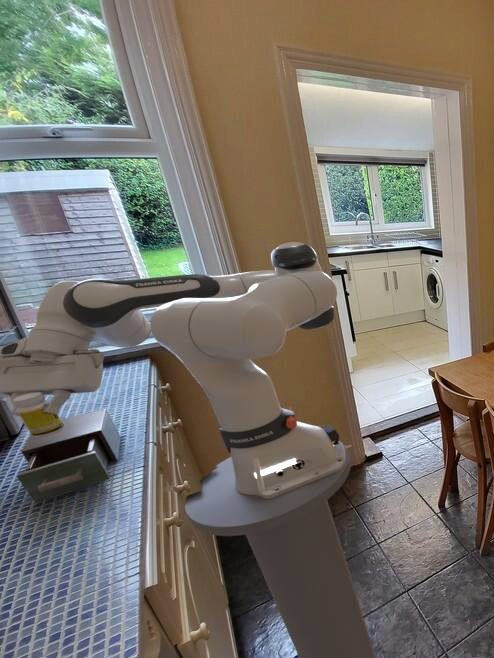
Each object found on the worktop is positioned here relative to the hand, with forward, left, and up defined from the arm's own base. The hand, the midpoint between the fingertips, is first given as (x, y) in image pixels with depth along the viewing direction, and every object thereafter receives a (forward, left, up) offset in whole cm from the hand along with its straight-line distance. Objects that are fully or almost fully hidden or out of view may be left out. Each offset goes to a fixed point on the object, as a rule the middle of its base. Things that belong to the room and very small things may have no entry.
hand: (34, 414), depth 82 cm
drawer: (0, 0, -16) cm, 16 cm away
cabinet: (+2, -12, -17) cm, 21 cm away
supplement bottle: (0, -1, -5) cm, 5 cm away
